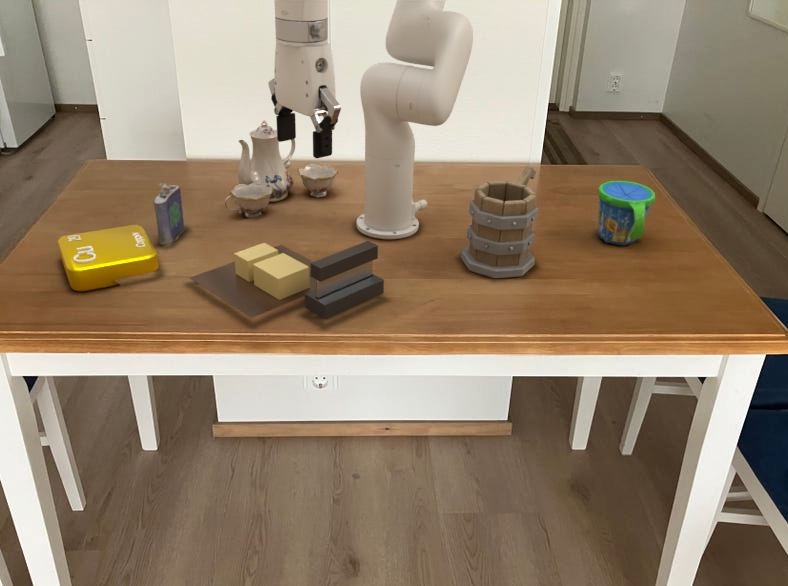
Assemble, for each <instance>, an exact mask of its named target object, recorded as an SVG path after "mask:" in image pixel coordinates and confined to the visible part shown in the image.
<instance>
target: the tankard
mask: <svg viewBox="0 0 788 586" xmlns="http://www.w3.org/2000/svg"><path fill="white" fill-rule="evenodd" d="M536 174H537V171H536V169H534V167H532V166H528V165H527V166H525V169H524V170H523V172H522V173H521V175H520V176H519V178H518V179H517V180H516V181H515V182H513V181H509V180H508V181H507V180H499V181H486V182H484V183H482V184H481V185H479V186H478V187H476V188H475V189H474V194H473V200H471V201H469V208H468V213H469V215H470V216H471V223H470V225H469V226H468V227H467V230H466V239H467V240H468V242H469V244H468V245H467V246H466V247H465V248H463V249H462V250H461V251H460V258H461V260H462V262H463V263H464V265H465V266H466V268H467V269H468V270H469V272H472V273H475V274H479V275H482V276H485V277H488V278H492V279H508V278H520V277H523V276H524V275H525V274H526V273H527V272H528V271H530V270H531V269H532V268H533V266H535V262H536V258H535V257H534V255H533V254H532V253H531V252H530V251H529V250H530V248H531V247H532V246H533V245H534V241H535V234H536V233H534V230H532V229H533V223H534V222H536V221H537V220H538V215H539V208H538V207H537V205H536V202H537V194H536V193H535V192H534V191H533V189H531V188H530V187H529V186H528V184H529V181H530V180H533V179H535V176H536Z"/></svg>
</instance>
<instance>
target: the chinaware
mask: <svg viewBox="0 0 788 586" xmlns="http://www.w3.org/2000/svg"><path fill="white" fill-rule="evenodd" d="M248 134H249V136H250V139H251V144H252V153H251V154H252V155H250V146H249V144H248V143H247V141H246V140H243V139H239V140H238V143H239V144H240V145H241V155H240V160H239V165H238V171H237V179H238V184H236V185H234V187H233V189H232V190H230V191H229V194H230V195H228V196H227V197H226V198H225V200H224V206H225V209H226V210H227V211H229V212H234V211H236V210H239V211H238V214H239V215H241V214H243V213H244V215H245V217H246V218H254V217H257V216H261V215H263V214H262V212H263V211H264V210H265V209H266V208H267V207H268V205H269V203H275V202H279V201H280V202H281V201H283V200H285V199H286V198H288V196H289V191H290V190H291V188H292V187H293V186H294V180H293V179H294V178H293V177H292V176H291V174H290V172H289V171H288V169H289V168H291V165H292V162H291V161H290V159H291V158H292V157H293V155H294V153H295V151H296V139H292V140H290V142H291V147H290V152H289V153H288V154H287V156H286V157H285V158H284V159H282V157H281V153H280V152H281V151H280V143H281V142H280V141H278V140H277V129H273V127H272V126H270V125H269V122H267V120H265V119H264V120H262V122H261V123H260V126H258V127H257V128H256V129H254V130H252V131H250V132H249V133H248ZM250 157H251V158H250ZM250 159H251V160H250ZM297 173H298V175H299V176H300V178H301V180H302V184H303V185H304V187H305V188H306V189H307V190H308V191H310V194H309V195H310V196H313V197H315V198H321V197H326V195H327V191H328V190H330V189H331V188H332V186H333V184H334V181H335V178H336V176H337V175H338V174H339V170H337V169H336V168H335V167H334V166H333V165H332V164H323V165H320V164H318V163H309V164H306V166H305V167H299V168H298V169H297ZM229 199H231V200H232V201H233V200H235V204H236V205H237V207H235V208H233V209H231V208H229V207H228V205H227V202H228V200H229Z"/></svg>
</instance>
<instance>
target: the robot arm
mask: <svg viewBox="0 0 788 586" xmlns="http://www.w3.org/2000/svg"><path fill="white" fill-rule="evenodd" d="M446 1H447V0H396V3H395V6H394V9H393V12H392V15H391V18H390V22H389V24H388V28H387V31H386V35H385V50H386V52H387V54H388V55H389V57H391V58H393V59H394V60H397V61H400V62H403V63H407V64H402V63H396V62H377V63H375V64H373V65H370V66H369V67H368V68H367V69H366V70H365V71H364V73H363V75H362V76H361V80H360V85H359V86H360V87H359V92H360V93H359V94H360V102H361V107H362V113H363V119H364V121H363V122H364V141H365V142H364V197H363V199H364V200H363V202H364V204H363V205H364V206H363V207H364V208H363V209H364V213H362V214H360V215H358V217H357V218H356V221H355V222H356V228H357V230H358V231H359V232H360V233H361V234H363V235H365V236H367V237H370V238H374V239H378V240H379V239H380V240H398V239H399V240H400V239H405V238H408V237H411V236H412V235H414V234H416V233H417V232H418V230H419V227H420V222H419V219H418V218H417V217H416V214H417V213H418V211H422V210H425V209H427V207H428V202H427V200H426V199H424V198H423V199H419V200H417V201H416V202H415V201H414V199H413V192H414V173H415V172H414V171H415V156H416V155H415V152H416V141H415V140H416V139H415V135H414V133H413V130H412V128H411V127H412V126H411V125H410V123H412V124H417V125H418V124H419V125H423V126H431V127H438V126H441V125H444V123H446V122H447V121H448V119H450V116H451V114H452V112H453V110H454V108H455V104H456V101H457V97H458V95H459V91H460V89H461V86H462V82H463V79H464V76H465V73H466V70H467V67H468V65H469V61H470V57H471V54H472V49H473V43H474V32H473V31H474V29H473V25H472V23H471V21H470V20H469V19H468V17H467V16H465V15H464V14H462V13H460V12H456V11H450V10H444V8H445V4H446ZM273 2H274V24H275V27H274V28H275V49H274V71H273V72H274V75H273V76H274V78H272V79H271V80H269V81H268V82H267V83H268V88H269V92H270V95H271V96H270V97H271V102H272V104H273V106H274V108H273V112H274V114H275V115H276V116H275V117H276V130H277V140H278V141H280V142H279V143H282V142H288V141H291V140H292V139H294V140H296V138H297V131H296V130H297V129H296V127H297V125H296V113H298V114H301V115H303V116H306V117H310V120H311V122H312V125H313V127H314V129H315V130H314V131H312V157H313V158H314V159H321V158H325V157H330V156H332V155H333V131H334V130H335V128H336V125H337V123H338V122H339V117H340V113H341V111H342V106H341V104H340V103H339V102H338V100H337V98H336V81H335V80H336V77H335V68H334V67H335V66H334V59H333V53H332V48H331V44H330V43H329V17H328V16H329V13H328V12H329V10H328V9H329V6H328V0H274V1H273ZM408 64H409V65H408ZM410 64H414V65H421V66H426V67H431V68H426V67H419V66H414V65H410ZM320 117H322V118H323V119H322V120H320Z"/></svg>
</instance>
